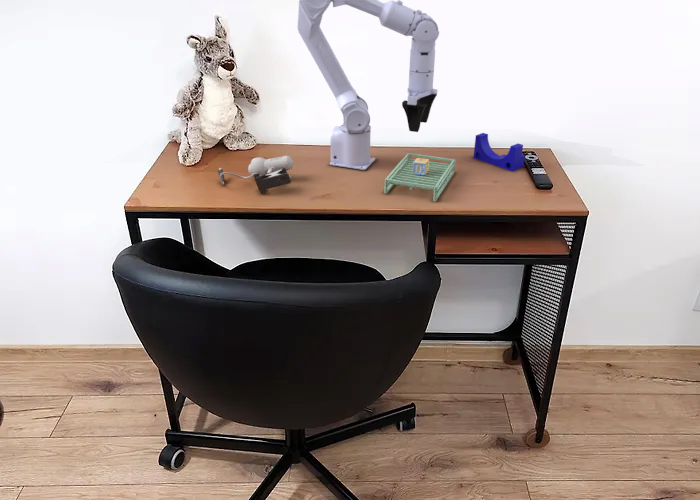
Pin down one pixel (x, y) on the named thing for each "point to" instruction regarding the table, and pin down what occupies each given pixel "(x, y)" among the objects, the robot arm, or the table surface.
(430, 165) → the rack
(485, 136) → the blue cradle bracket
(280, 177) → the clip-on lamp
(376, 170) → the table surface
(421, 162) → the alphabet block
